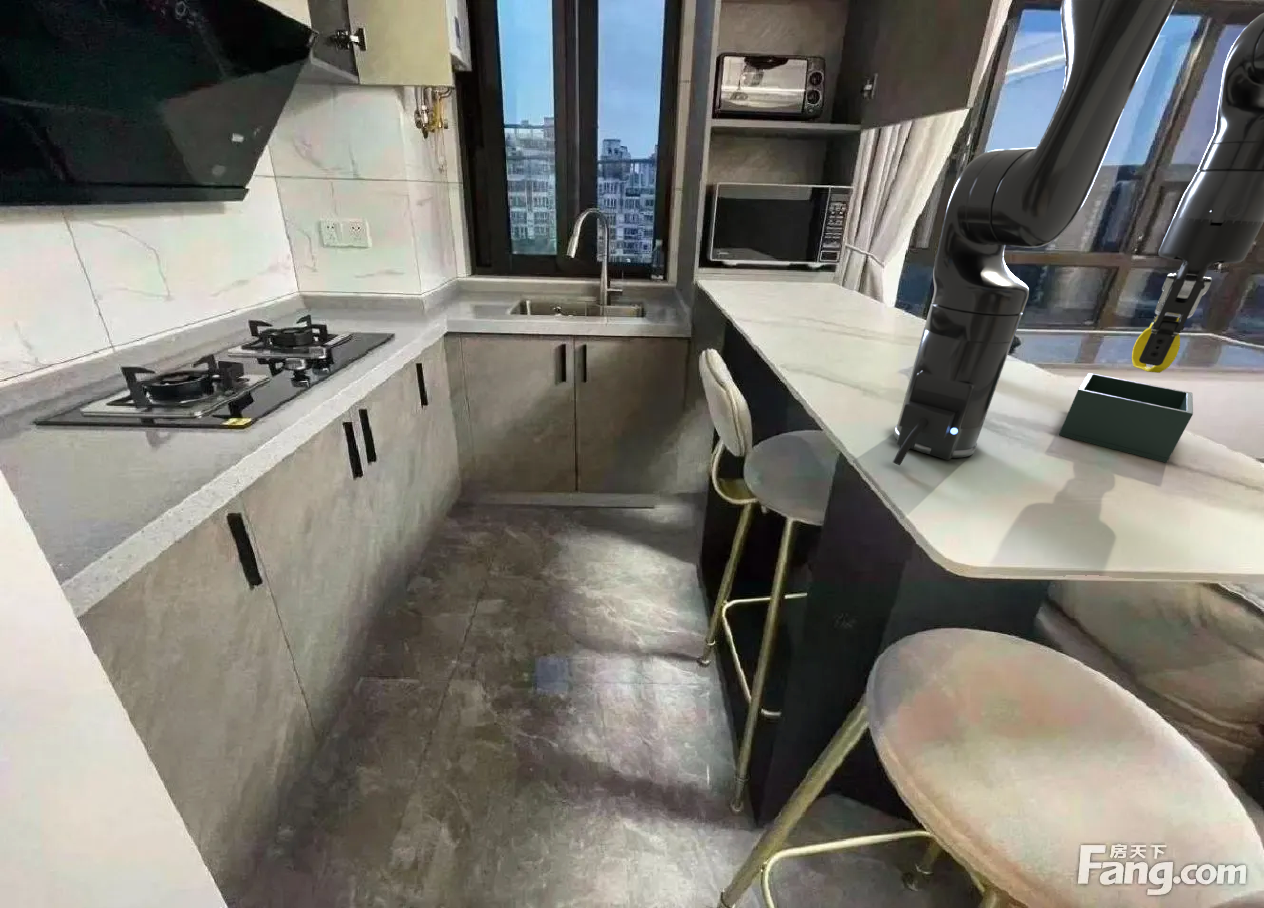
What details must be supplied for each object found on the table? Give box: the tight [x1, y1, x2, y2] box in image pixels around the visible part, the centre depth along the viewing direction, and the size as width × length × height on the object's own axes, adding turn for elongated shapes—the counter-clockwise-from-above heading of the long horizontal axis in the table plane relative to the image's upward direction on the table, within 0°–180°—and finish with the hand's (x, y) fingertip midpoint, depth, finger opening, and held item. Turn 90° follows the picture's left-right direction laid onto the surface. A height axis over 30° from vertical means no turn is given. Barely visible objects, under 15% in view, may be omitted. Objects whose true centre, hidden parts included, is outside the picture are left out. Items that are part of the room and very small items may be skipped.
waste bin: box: [1058, 372, 1194, 463], centre depth 73 cm, size 11×11×7 cm
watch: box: [1131, 321, 1181, 374], centre depth 69 cm, size 6×3×6 cm, turn 168°
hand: (1150, 358), depth 69 cm, fingers closed on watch, 5 cm apart
